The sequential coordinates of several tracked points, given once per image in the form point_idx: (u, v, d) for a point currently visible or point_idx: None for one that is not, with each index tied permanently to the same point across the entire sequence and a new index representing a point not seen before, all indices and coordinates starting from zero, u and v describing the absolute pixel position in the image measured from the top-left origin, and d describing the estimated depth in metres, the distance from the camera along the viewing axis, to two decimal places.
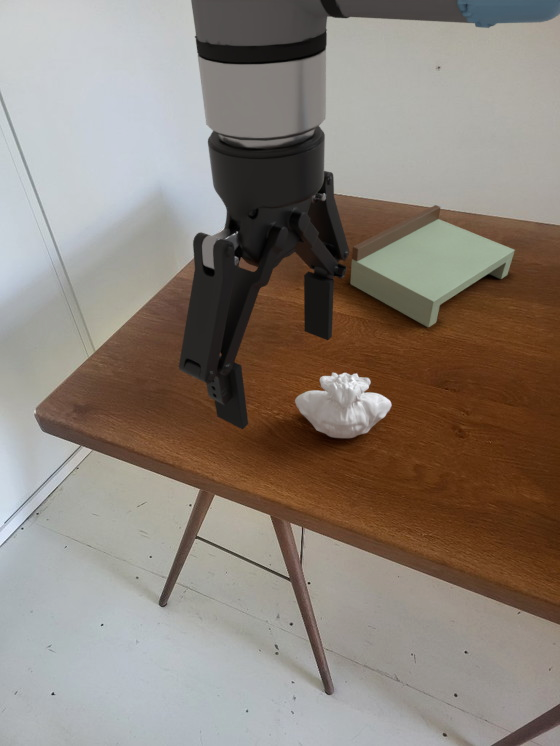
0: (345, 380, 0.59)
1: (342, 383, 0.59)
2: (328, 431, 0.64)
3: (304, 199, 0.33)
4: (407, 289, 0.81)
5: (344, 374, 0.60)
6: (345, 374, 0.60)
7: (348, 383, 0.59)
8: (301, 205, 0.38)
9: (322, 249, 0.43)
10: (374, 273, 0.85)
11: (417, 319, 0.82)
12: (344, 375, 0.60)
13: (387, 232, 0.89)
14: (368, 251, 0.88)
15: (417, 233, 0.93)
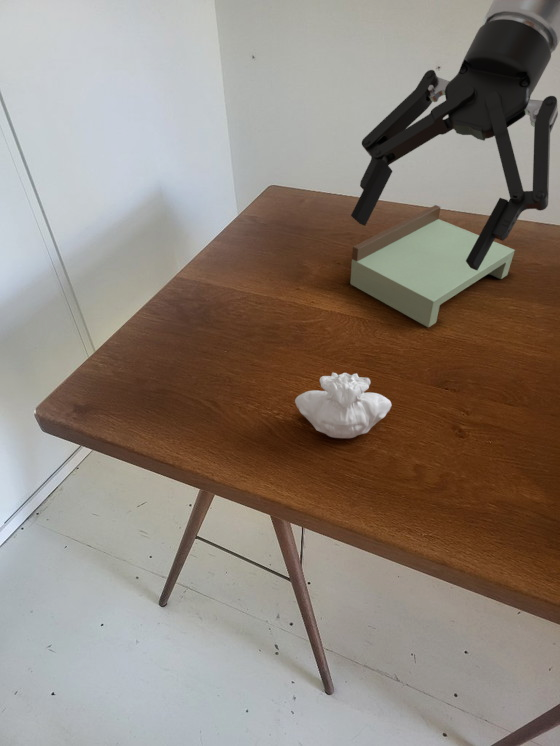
0: (345, 380, 0.59)
1: (342, 383, 0.59)
2: (328, 431, 0.64)
3: (482, 53, 0.49)
4: (407, 289, 0.81)
5: (344, 374, 0.60)
6: (345, 374, 0.60)
7: (348, 383, 0.59)
8: (507, 98, 0.50)
9: (509, 156, 0.49)
10: (374, 273, 0.85)
11: (417, 319, 0.82)
12: (344, 375, 0.60)
13: (387, 232, 0.89)
14: (368, 251, 0.88)
15: (417, 233, 0.93)
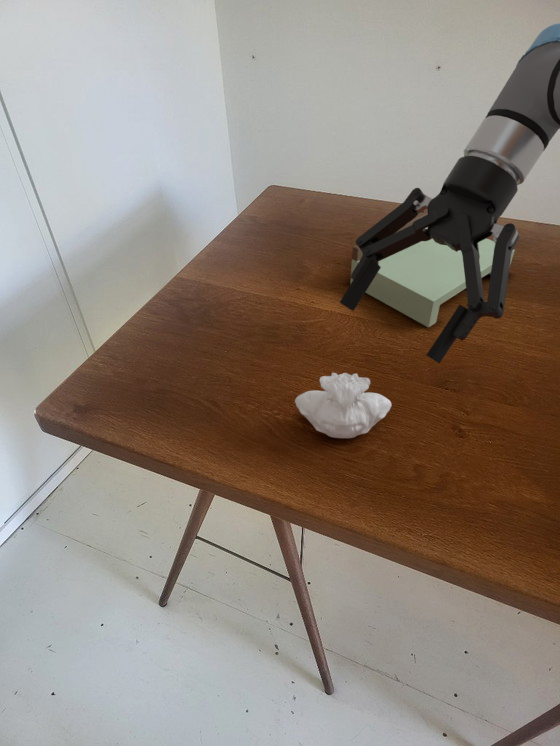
0: (345, 380, 0.59)
1: (342, 383, 0.59)
2: (328, 431, 0.64)
3: (455, 182, 0.57)
4: (407, 289, 0.81)
5: (344, 374, 0.60)
6: (345, 374, 0.60)
7: (348, 383, 0.59)
8: (475, 220, 0.57)
9: (472, 270, 0.56)
10: None
11: (417, 319, 0.82)
12: (344, 375, 0.60)
13: None
14: None
15: None
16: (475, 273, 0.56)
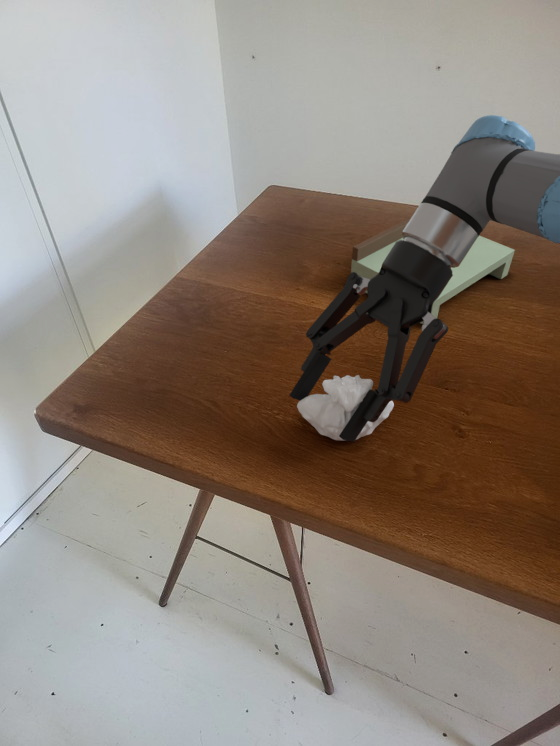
0: (348, 382, 0.59)
1: (346, 386, 0.59)
2: (332, 434, 0.63)
3: (391, 267, 0.58)
4: None
5: (347, 377, 0.59)
6: (348, 377, 0.59)
7: (352, 385, 0.59)
8: (410, 305, 0.58)
9: (391, 356, 0.58)
10: (374, 273, 0.85)
11: None
12: (347, 378, 0.59)
13: (387, 232, 0.89)
14: (368, 251, 0.88)
15: None
16: (393, 360, 0.58)
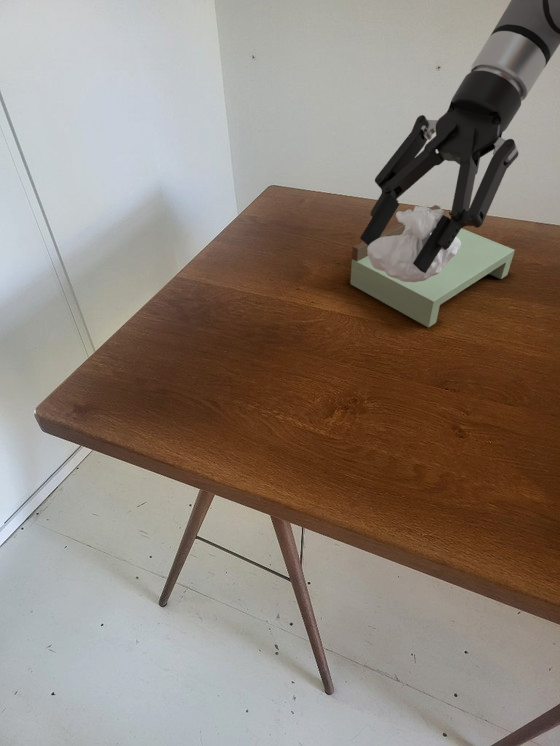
0: (422, 210, 0.62)
1: (420, 212, 0.61)
2: (403, 272, 0.66)
3: (462, 96, 0.60)
4: (407, 289, 0.81)
5: (419, 206, 0.62)
6: (420, 206, 0.62)
7: (425, 212, 0.61)
8: (481, 132, 0.61)
9: (463, 181, 0.61)
10: (374, 273, 0.85)
11: (417, 319, 0.82)
12: (420, 207, 0.62)
13: (387, 232, 0.89)
14: None
15: None
16: (465, 185, 0.61)
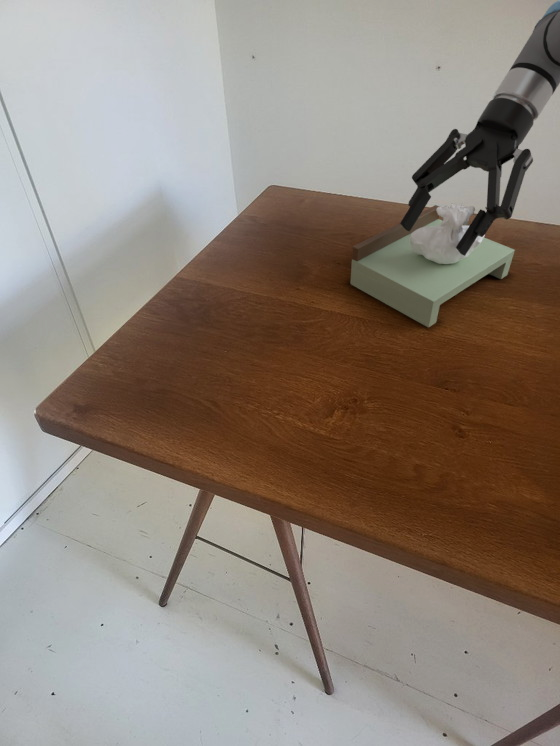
0: (457, 206, 0.79)
1: (456, 208, 0.78)
2: (439, 255, 0.83)
3: (487, 117, 0.78)
4: (407, 289, 0.81)
5: (455, 203, 0.79)
6: (456, 203, 0.79)
7: (460, 208, 0.79)
8: (502, 145, 0.78)
9: (493, 183, 0.78)
10: (374, 273, 0.85)
11: (417, 319, 0.82)
12: (455, 204, 0.79)
13: (387, 232, 0.89)
14: (368, 251, 0.88)
15: None
16: (495, 186, 0.77)
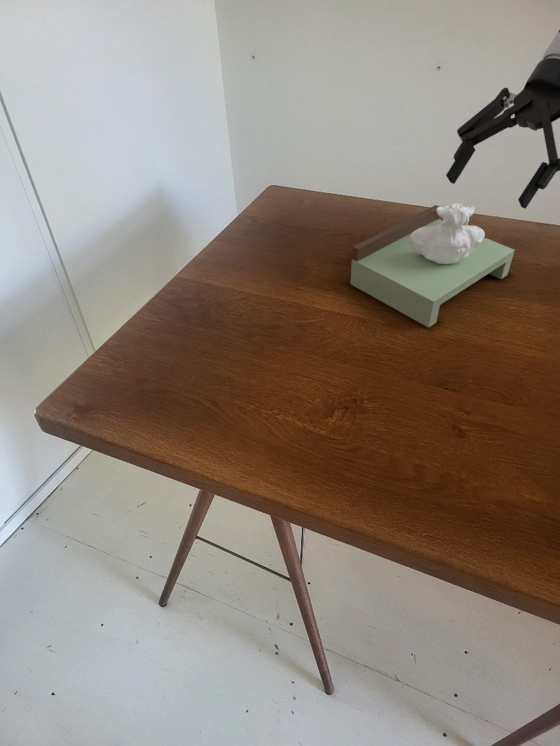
0: (457, 206, 0.79)
1: (455, 208, 0.78)
2: (439, 255, 0.83)
3: (538, 77, 0.81)
4: (407, 289, 0.81)
5: (455, 203, 0.79)
6: (456, 203, 0.79)
7: (460, 208, 0.79)
8: (551, 104, 0.81)
9: (550, 137, 0.80)
10: (374, 273, 0.85)
11: (417, 319, 0.82)
12: (455, 204, 0.79)
13: (387, 232, 0.89)
14: (368, 251, 0.88)
15: None
16: (553, 139, 0.80)
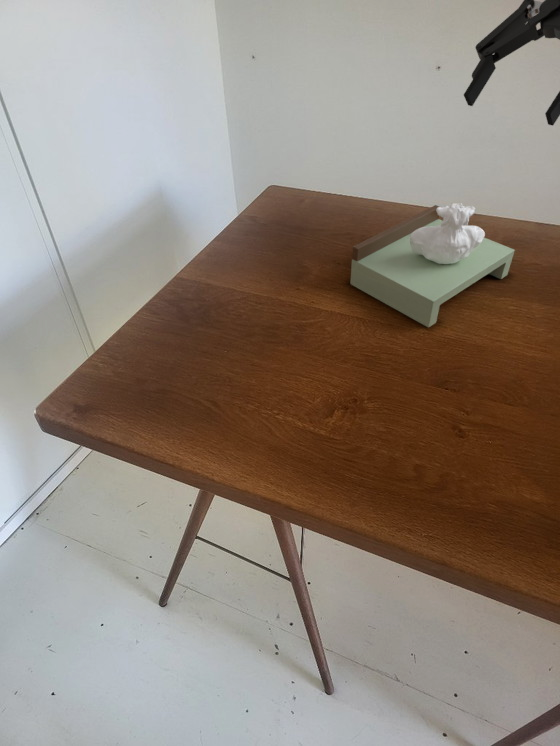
0: (457, 206, 0.79)
1: (455, 208, 0.78)
2: (439, 255, 0.83)
3: None
4: (407, 289, 0.81)
5: (455, 203, 0.79)
6: (456, 203, 0.79)
7: (460, 208, 0.79)
8: None
9: None
10: (374, 273, 0.85)
11: (417, 319, 0.82)
12: (455, 204, 0.79)
13: (387, 232, 0.89)
14: (368, 251, 0.88)
15: None
16: None
